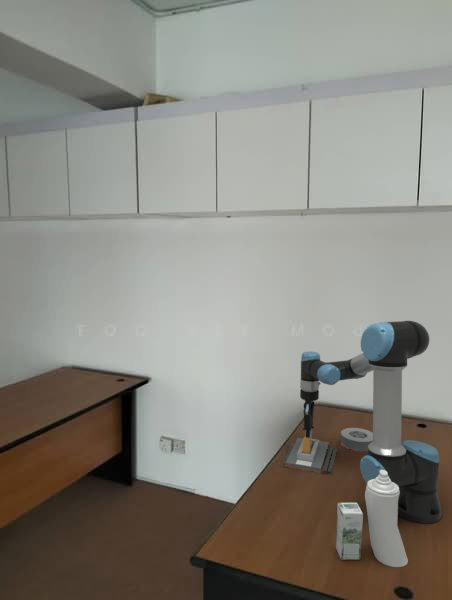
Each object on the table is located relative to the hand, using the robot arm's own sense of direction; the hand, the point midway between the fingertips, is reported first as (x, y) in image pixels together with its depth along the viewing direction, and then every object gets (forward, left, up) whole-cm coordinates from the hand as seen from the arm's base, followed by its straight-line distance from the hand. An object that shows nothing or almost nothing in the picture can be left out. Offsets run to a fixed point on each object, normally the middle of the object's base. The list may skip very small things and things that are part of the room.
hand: (308, 444), depth 192 cm
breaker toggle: (-3, 0, -4) cm, 5 cm away
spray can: (-54, -31, -7) cm, 63 cm away
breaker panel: (+2, -1, -6) cm, 7 cm away
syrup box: (-57, -21, -7) cm, 61 cm away
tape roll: (+22, -19, -7) cm, 30 cm away
